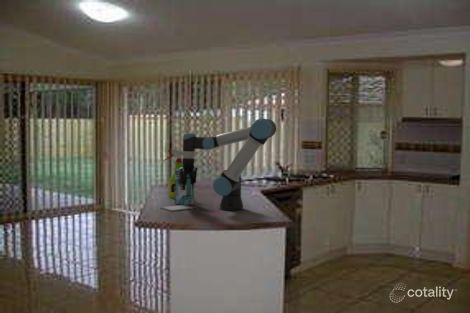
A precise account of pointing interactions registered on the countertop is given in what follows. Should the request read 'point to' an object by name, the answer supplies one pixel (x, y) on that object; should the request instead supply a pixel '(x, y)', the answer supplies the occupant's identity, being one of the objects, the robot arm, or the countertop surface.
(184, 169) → the robot arm
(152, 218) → the countertop surface
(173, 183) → the spray bottle
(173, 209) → the writing board
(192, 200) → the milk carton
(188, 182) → the teal and grey cylinder
